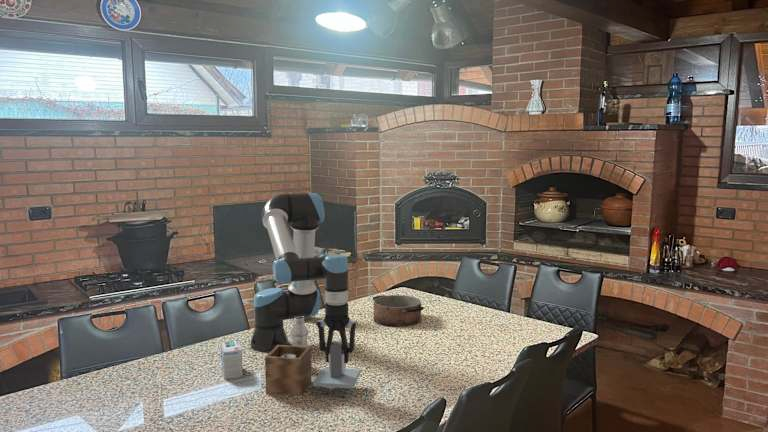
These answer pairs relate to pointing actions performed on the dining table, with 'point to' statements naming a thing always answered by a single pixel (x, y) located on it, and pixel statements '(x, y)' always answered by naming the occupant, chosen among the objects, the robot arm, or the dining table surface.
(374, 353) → the dining table surface
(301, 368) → the crate
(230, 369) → the light bulb box
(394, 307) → the cooking pot
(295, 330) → the plastic bottle
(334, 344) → the lid
